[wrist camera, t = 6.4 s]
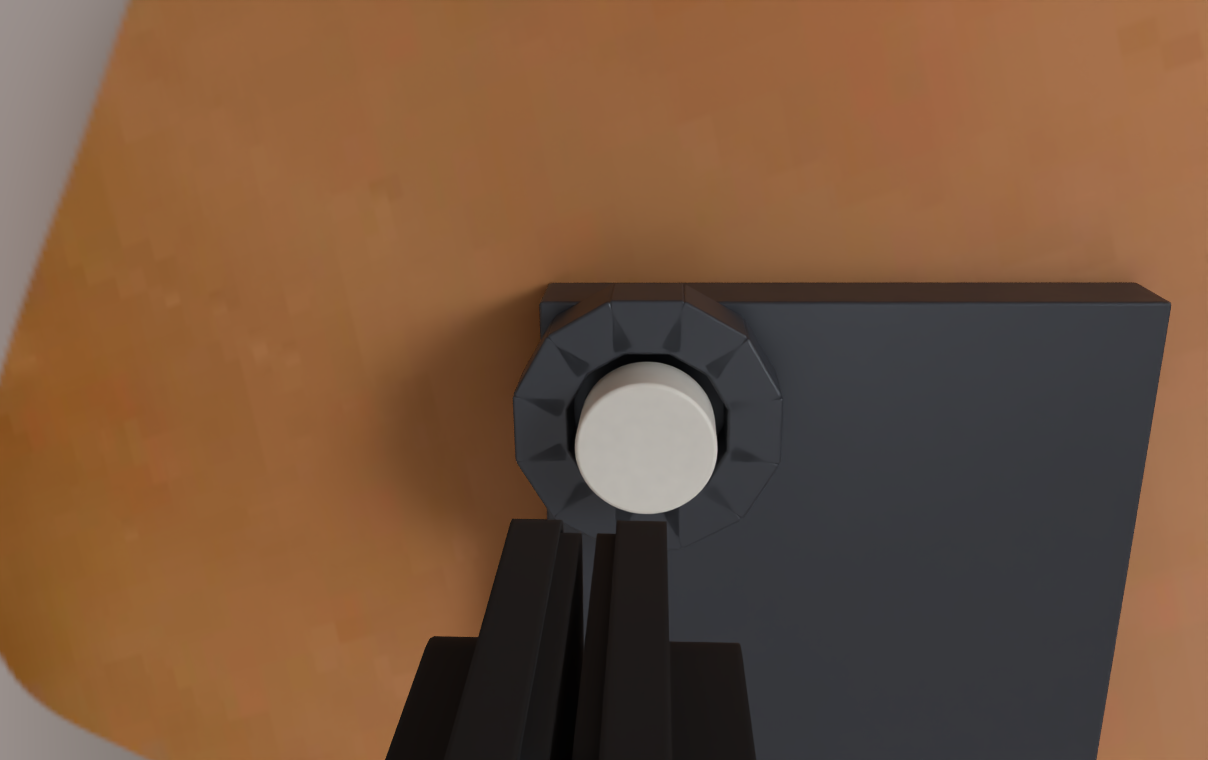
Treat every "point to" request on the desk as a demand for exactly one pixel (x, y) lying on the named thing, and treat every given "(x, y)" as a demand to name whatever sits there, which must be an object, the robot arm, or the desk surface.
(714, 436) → the button
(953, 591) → the scale
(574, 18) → the desk surface
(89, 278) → the desk surface
